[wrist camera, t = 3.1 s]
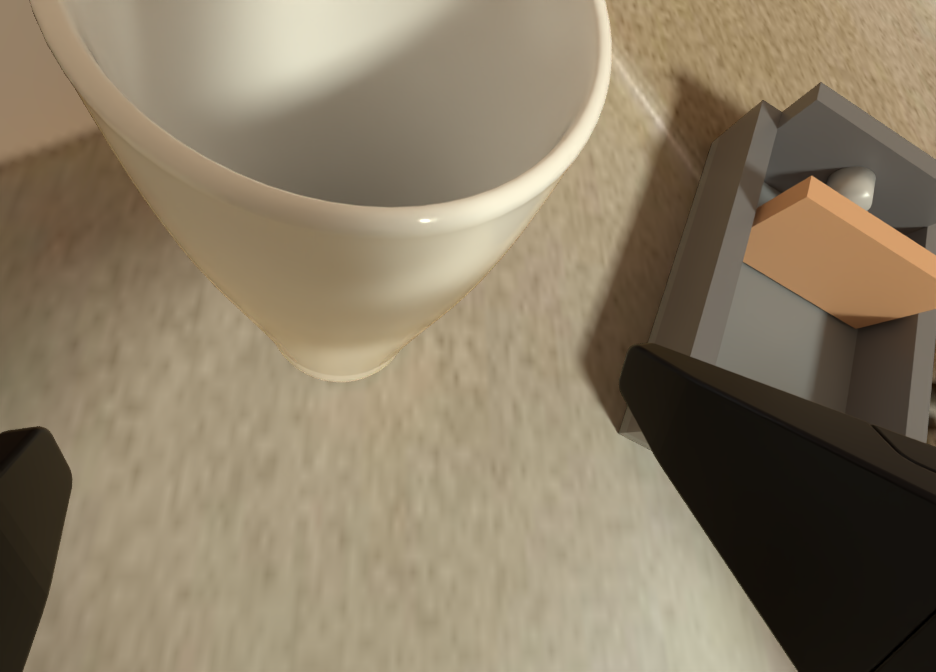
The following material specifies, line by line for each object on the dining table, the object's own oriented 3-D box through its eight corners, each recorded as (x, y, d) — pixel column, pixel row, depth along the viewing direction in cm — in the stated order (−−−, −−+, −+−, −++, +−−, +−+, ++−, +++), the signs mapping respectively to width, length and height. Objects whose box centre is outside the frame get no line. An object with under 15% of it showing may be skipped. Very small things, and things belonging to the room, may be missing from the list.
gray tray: (833, 545, 23) (979, 570, 18) (618, 433, 22) (709, 425, 16) (877, 247, 29) (996, 200, 24) (712, 142, 28) (801, 68, 22)
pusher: (855, 329, 26) (970, 300, 21) (717, 246, 25) (807, 196, 20) (858, 310, 26) (971, 278, 22) (722, 228, 25) (811, 175, 20)
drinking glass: (286, 220, 20) (177, -348, 6) (441, 273, 21) (652, -92, 7) (223, 375, 18) (-176, 68, 4) (398, 423, 19) (577, 324, 5)
